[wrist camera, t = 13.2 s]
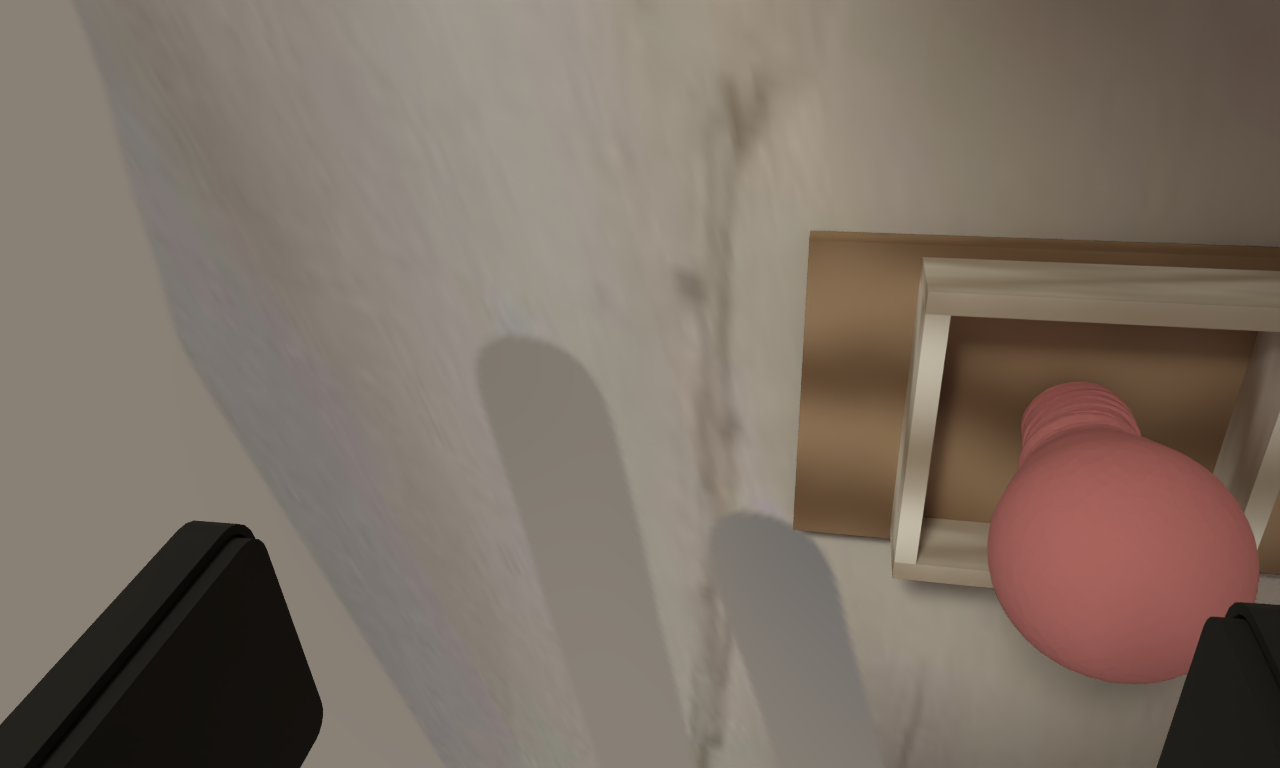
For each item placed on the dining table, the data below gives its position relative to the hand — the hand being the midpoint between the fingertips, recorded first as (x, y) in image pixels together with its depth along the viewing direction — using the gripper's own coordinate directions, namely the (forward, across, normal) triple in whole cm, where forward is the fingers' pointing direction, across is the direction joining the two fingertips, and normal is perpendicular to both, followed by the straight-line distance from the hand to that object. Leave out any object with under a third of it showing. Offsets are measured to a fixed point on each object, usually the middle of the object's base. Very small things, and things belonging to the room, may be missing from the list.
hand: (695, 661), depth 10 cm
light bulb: (+25, -10, +13) cm, 30 cm away
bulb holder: (+26, -10, +13) cm, 31 cm away
